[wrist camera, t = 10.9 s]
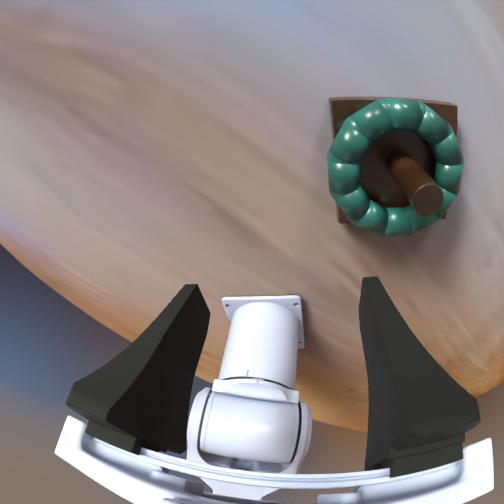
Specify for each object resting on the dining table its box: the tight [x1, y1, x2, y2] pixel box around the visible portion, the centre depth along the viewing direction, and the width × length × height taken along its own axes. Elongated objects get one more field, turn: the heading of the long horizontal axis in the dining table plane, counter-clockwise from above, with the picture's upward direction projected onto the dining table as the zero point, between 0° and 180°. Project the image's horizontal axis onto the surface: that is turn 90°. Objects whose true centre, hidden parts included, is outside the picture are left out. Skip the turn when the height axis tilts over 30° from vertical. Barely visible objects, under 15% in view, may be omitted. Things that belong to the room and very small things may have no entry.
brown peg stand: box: [329, 97, 457, 223], centre depth 14 cm, size 9×9×6 cm
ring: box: [327, 98, 463, 236], centre depth 15 cm, size 10×10×2 cm
